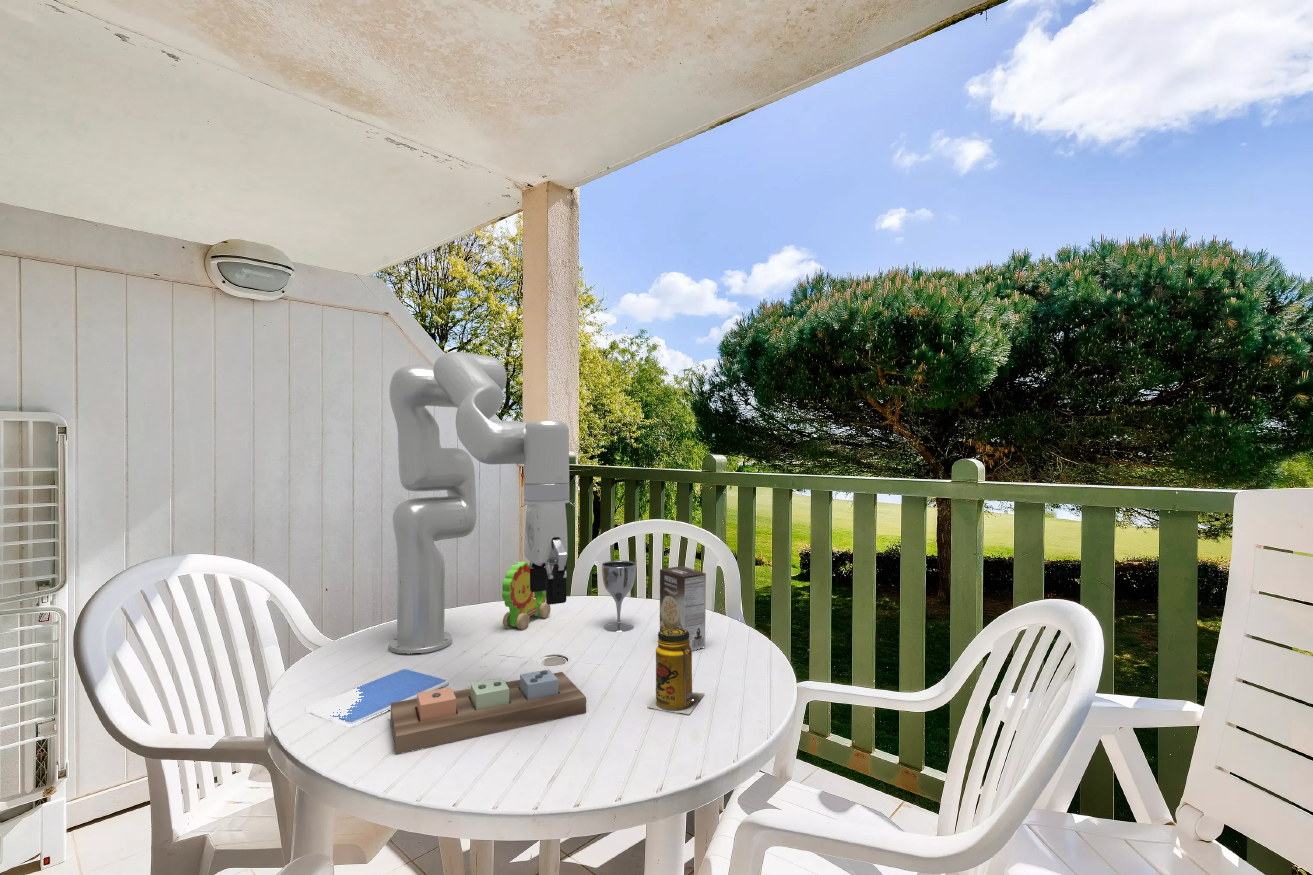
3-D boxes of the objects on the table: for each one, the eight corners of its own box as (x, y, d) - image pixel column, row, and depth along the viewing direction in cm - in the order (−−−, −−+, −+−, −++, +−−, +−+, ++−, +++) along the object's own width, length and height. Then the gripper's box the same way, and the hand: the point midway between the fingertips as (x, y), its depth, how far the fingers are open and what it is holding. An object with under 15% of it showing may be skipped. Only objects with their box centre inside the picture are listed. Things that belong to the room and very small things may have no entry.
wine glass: (606, 621, 144) (606, 560, 145) (638, 622, 143) (638, 560, 144) (598, 631, 137) (598, 566, 137) (632, 632, 135) (632, 567, 136)
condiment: (646, 708, 96) (646, 634, 97) (665, 688, 104) (665, 620, 104) (689, 715, 94) (689, 639, 94) (704, 695, 102) (704, 625, 102)
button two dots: (470, 702, 95) (470, 681, 95) (501, 695, 97) (502, 676, 97) (476, 714, 90) (476, 693, 90) (509, 707, 93) (509, 687, 93)
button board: (390, 719, 92) (390, 702, 92) (562, 685, 105) (562, 671, 105) (396, 754, 82) (396, 736, 82) (586, 712, 95) (586, 696, 95)
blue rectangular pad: (349, 732, 89) (349, 723, 89) (301, 713, 95) (301, 705, 95) (451, 687, 106) (451, 679, 106) (404, 674, 112) (404, 667, 112)
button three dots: (520, 692, 98) (520, 673, 98) (549, 686, 101) (549, 667, 101) (528, 703, 94) (528, 683, 94) (558, 697, 96) (558, 678, 96)
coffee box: (658, 642, 129) (658, 568, 129) (681, 636, 133) (681, 565, 133) (683, 654, 122) (683, 576, 122) (707, 648, 125) (707, 572, 125)
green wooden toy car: (533, 614, 151) (533, 554, 151) (551, 616, 149) (552, 556, 149) (495, 632, 136) (495, 566, 136) (515, 634, 134) (515, 567, 135)
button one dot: (417, 712, 91) (417, 691, 91) (450, 705, 93) (451, 685, 93) (420, 725, 86) (420, 703, 87) (456, 718, 89) (456, 697, 89)
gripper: (512, 492, 105) (512, 589, 104) (538, 498, 89) (539, 611, 89) (553, 490, 108) (553, 584, 108) (585, 496, 93) (586, 605, 92)
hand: (547, 596), depth 98 cm, fingers open, 9 cm apart
